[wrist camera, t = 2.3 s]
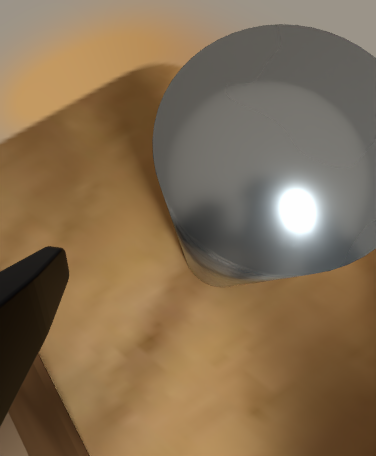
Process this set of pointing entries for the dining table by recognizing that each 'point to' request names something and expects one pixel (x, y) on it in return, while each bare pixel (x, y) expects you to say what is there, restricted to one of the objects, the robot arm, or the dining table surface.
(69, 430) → the slot block
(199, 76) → the pin
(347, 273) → the dining table surface
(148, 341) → the dining table surface
